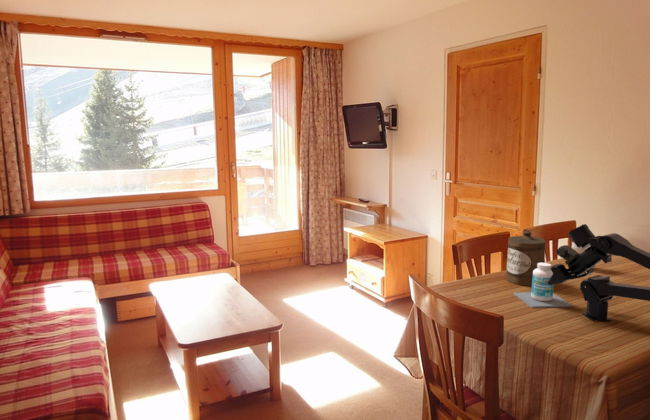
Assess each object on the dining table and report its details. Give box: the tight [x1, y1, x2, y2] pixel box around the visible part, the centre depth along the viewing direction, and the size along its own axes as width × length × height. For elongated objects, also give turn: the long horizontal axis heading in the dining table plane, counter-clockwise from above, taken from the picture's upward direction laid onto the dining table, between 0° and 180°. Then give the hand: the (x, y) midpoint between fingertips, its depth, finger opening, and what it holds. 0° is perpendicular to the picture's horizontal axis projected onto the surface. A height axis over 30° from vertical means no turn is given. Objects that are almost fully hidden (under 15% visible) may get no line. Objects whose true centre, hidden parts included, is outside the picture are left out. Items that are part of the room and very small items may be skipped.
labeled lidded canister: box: [505, 229, 546, 287], centre depth 201 cm, size 15×15×22 cm
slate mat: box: [512, 291, 573, 309], centre depth 179 cm, size 15×15×1 cm
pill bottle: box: [530, 262, 555, 301], centre depth 178 cm, size 8×7×14 cm
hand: (555, 281), depth 173 cm, fingers open, 9 cm apart
